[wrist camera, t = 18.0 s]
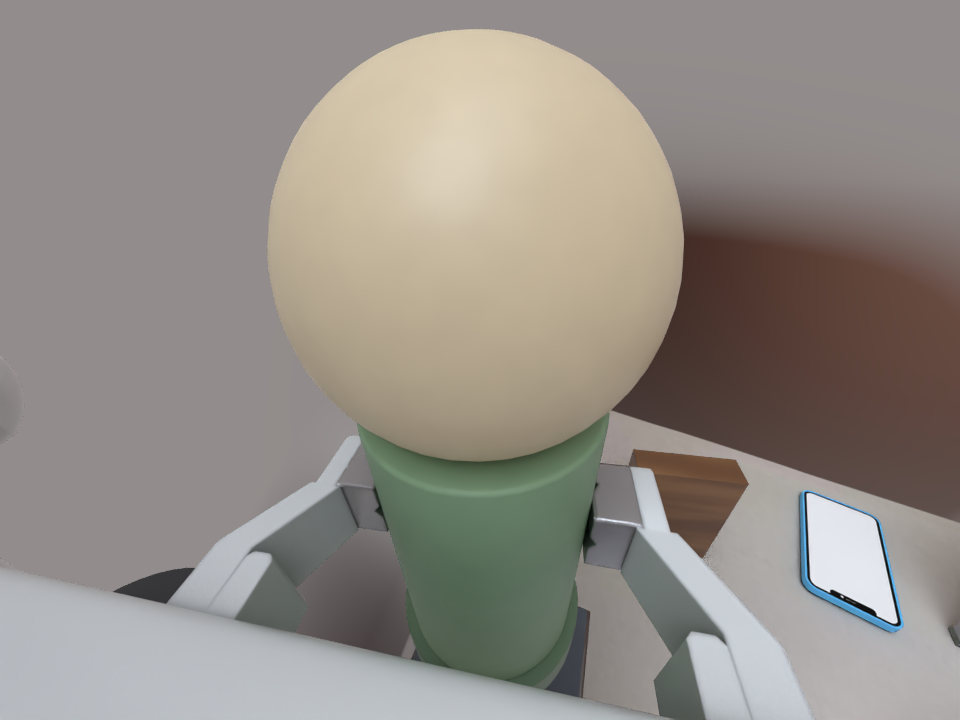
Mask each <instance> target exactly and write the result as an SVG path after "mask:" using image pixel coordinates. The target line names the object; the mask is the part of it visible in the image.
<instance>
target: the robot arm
mask: <svg viewBox="0 0 960 720" xmlns="http://www.w3.org/2000/svg"><path fill="white" fill-rule="evenodd" d="M24 406H25V402H24V393H23V389H22V385H21V383H20V380H19V378H18V376H17V375H16V373H15V371H14V370H13V368H12V367H11V366H10V365H9V363H8V362H7V361H6V360H5V359H4V358H3V357H2V356H1V355H0V445H1V444H2V443H4V442H5V441H7V440H8V439H10V438H11V437H13V436H14V435H15V434H16V433H17V430H18V428H19V426H20V424H21V421H22V418H23V413H24ZM358 528H363V529H371V530H378V531H388V530H389V528H388V525H387V522H386V519H385V516H384V512H383V509H382V506H381V503H380V500H379V497H378V493H377V490H376V487H375V484H374V481H373V478H372V474H371V471H370V468H369V465H368V462H367V459H366V455H365V452H364V449H363V446H362V443H361V440H360V436H353V435H351V436H349V437H348V438H347V439H346V440H345V441H344V443H343V444H342V445H341V447H340V448H339V450H338V451H337V453H336V454H335V456H334V457H333V459H332V460H331V462H330V463H329V464H328V466H327V468H326V469H325V471H324V472H323V474H322V475H321V476H320V478H319V479H318V481H317V482H316V483H313V482H311V483H309V484H308V485H306V486H304V487H303V488H301V489H300V490H298V491H296V492H295V493H293V494H292V495H291V496H289V497H287V498H285V499H284V500H282V501H281V502H279V503H277V504H276V505H274V506H273V507H271V508H270V509H268V510H267V511H265V512H263V513H262V514H260V515H259V516H257V517H255V518H254V519H252V520H251V521H249V522H247V523H246V524H244V525H243V526H241V527H240V528H238V529H236V530H235V531H233V532H232V533H230V534H229V535H227V536H225V537H224V538H222V539H221V540H219V541H217V542H216V544H215V545H214V546H213V547H212V548H211V550H210V551H209V552H208V553H207V555H206V556H205V557H204V558H203V560H202V561H201V562H200V563H199V564H198V566H197V567H196V568H195V569H194V570H193V572H192V573H191V574H190V575H189V577H188V578H187V579H186V580H185V581H184V583H183V584H182V585H181V586H180V587H179V589H178V590H177V591H176V592H175V594H174V595H173V596H172V597H171V598H170V600H169V601H168V602H167V603H166V604H164V603H159V602H155V601H150V600H146V599H142V598H137V597H133V596H128V595H124V594H119V593H115V592H111V591H106V590H102V589H97V588H93V587H88V586H84V585H80V584H75V583H71V582H66V581H62V580H58V579H53V578H48V577H44V576H40V575H35V574H31V573H27V572H22V571H20V570H19V569H17V568H15V567H14V566H12V565H11V564H9V563H7V562H6V561H4V560H3V559H1V558H0V720H815V718H814V716H813V713H812V711H811V709H810V706H809V704H808V702H807V700H806V697H805V695H804V693H803V690H802V688H801V686H800V684H799V681H798V679H797V677H796V675H795V672H794V670H793V668H792V665H791V663H790V661H789V659H788V656H787V654H786V652H785V649H784V647H783V646H782V645H781V643H780V642H779V641H778V640H777V639H776V638H775V637H774V636H773V635H772V634H771V633H770V632H769V631H768V630H767V628H766V627H765V626H764V625H763V624H762V623H761V622H760V621H759V620H758V619H757V618H756V617H755V616H754V615H753V613H752V612H751V611H750V610H749V609H748V608H747V607H746V606H745V605H744V604H743V603H742V602H741V601H740V600H739V598H738V597H737V596H736V595H735V594H734V593H733V592H732V591H731V590H730V589H729V588H728V587H727V586H726V585H725V583H724V582H723V581H722V580H721V579H720V578H719V577H718V576H717V575H716V574H715V573H714V572H713V571H712V570H711V568H710V567H709V566H708V565H707V564H706V563H705V562H704V561H703V560H702V559H701V558H700V557H699V556H698V555H697V553H696V552H695V551H694V550H693V549H692V548H691V547H690V546H689V545H688V544H687V543H686V542H685V541H684V540H683V538H682V537H681V536H680V535H679V534H678V533H673V532H670V528H669V525H668V521H667V518H666V515H665V511H664V508H663V504H662V501H661V497H660V494H659V490H658V487H657V484H656V480H655V477H654V473H653V472H652V470H651V469H648V468H639V467H630V466H629V467H628V466H624V465H614V464H604V463H600V466H599V470H598V475H597V479H596V484H595V488H594V493H593V498H592V502H591V507H590V511H589V516H588V521H587V525H586V530H585V534H584V539H583V555H584V563H586V564H591V565H596V566H602V567H607V568H612V569H618V570H621V574H622V575H623V577H624V579H625V580H626V582H627V583H628V585H629V587H630V588H631V590H632V591H633V593H634V595H635V596H636V598H637V599H638V601H639V603H640V604H641V606H642V607H643V609H644V611H645V612H646V614H647V616H648V617H649V619H650V620H651V622H652V624H653V625H654V627H655V628H656V630H657V632H658V633H659V635H660V636H661V638H662V640H663V641H664V643H665V644H666V646H667V648H668V649H669V651H670V652H671V654H672V657H671V658H670V660H669V661H668V662H667V664H666V665H665V666H664V668H663V669H662V670H661V672H660V673H659V674H658V676H657V677H656V678H655V680H654V684H655V690H656V696H657V702H658V708H659V714H660V716H658V715H654V714H650V713H645V712H641V711H636V710H632V709H627V708H623V707H619V706H614V705H610V704H605V703H601V702H597V701H592V700H588V699H583V698H579V697H574V696H570V695H566V694H561V693H557V692H552V691H548V690H544V689H539V688H535V687H530V686H526V685H521V684H517V683H513V682H508V681H504V680H499V679H495V678H490V677H486V676H482V675H477V674H473V673H468V672H464V671H460V670H455V669H451V668H446V667H442V666H437V665H433V664H429V663H424V662H420V661H415V660H411V659H407V658H402V657H398V656H393V655H389V654H384V653H380V652H375V651H371V650H366V649H362V648H358V647H354V646H349V645H345V644H340V643H336V642H331V641H327V640H323V639H318V638H314V637H309V636H305V635H300V634H296V633H295V631H296V629H297V627H298V625H299V624H300V622H301V620H302V617H303V616H304V614H305V611H306V610H307V603H306V601H305V600H304V598H303V597H302V595H301V594H300V593H299V591H298V590H297V589H296V587H297V586H299V585H300V584H301V583H302V582H303V581H304V580H305V579H306V578H307V577H308V576H309V575H310V574H312V573H313V572H314V570H316V569H317V568H318V567H319V566H320V565H321V564H322V563H323V562H324V561H325V560H327V558H329V557H330V556H331V555H332V554H333V553H334V552H335V551H336V550H337V549H338V548H339V547H341V546H342V545H343V544H344V543H345V542H346V541H347V540H348V539H349V538H350V537H351V536H352V535H353V534H354V533H356V532H357V531H358Z"/></svg>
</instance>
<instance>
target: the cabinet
mask: <svg viewBox="0 0 960 720" xmlns="http://www.w3.org/2000/svg"><path fill="white" fill-rule="evenodd" d="M948 630H949V632H950V634H951V636H952V638H953V641H954V643H955V645H956V646H958V647H960V622H958V623H956V624H954V625H952V626H951V627H949V628H948Z"/></svg>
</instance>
